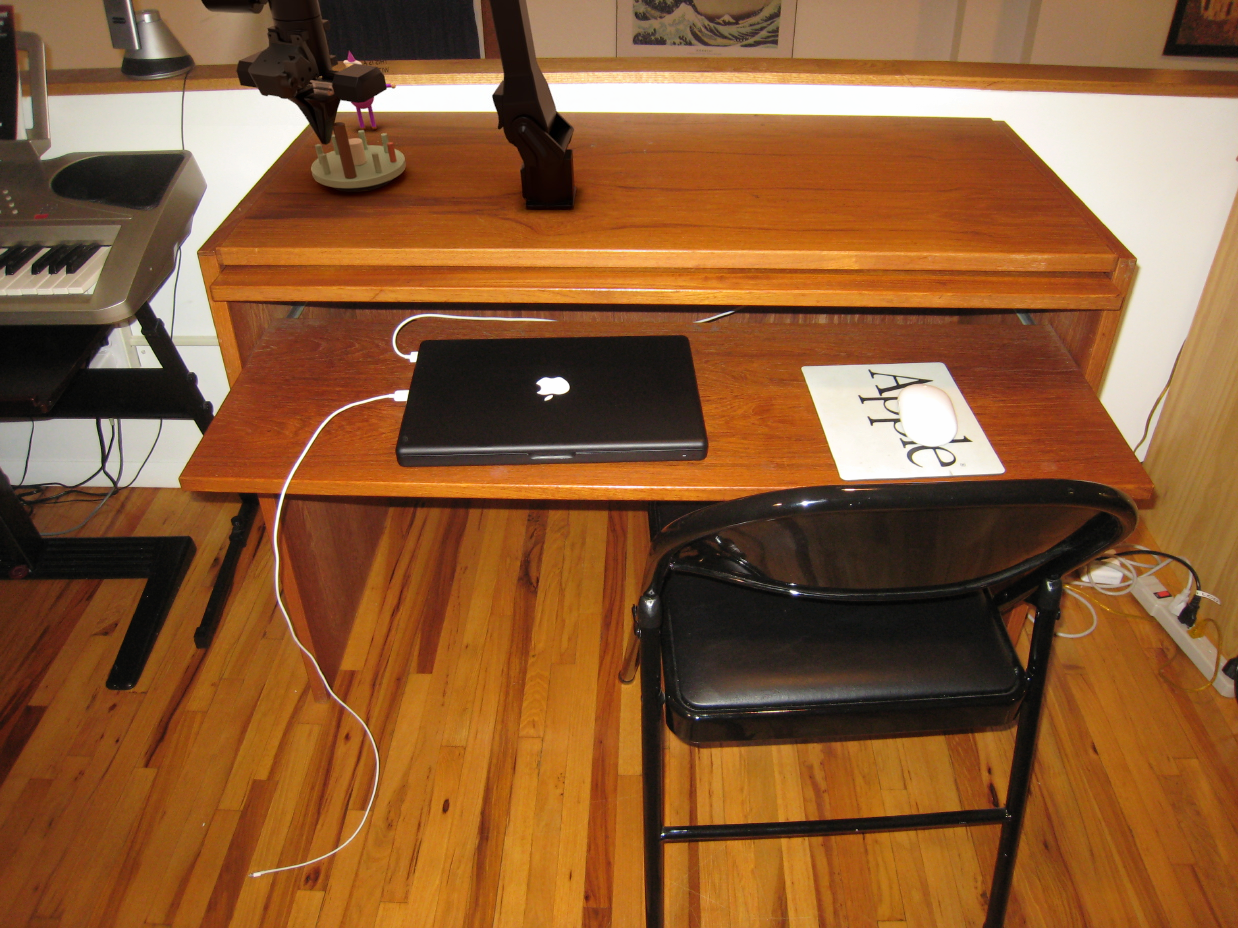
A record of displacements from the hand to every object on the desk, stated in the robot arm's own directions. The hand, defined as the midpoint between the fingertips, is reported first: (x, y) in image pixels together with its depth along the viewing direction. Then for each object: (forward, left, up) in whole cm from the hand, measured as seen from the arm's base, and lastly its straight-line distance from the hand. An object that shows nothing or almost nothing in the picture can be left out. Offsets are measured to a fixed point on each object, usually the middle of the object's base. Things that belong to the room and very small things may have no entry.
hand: (326, 143), depth 110 cm
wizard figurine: (+2, -23, -7) cm, 24 cm away
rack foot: (-2, -4, -7) cm, 8 cm away
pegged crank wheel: (-2, -4, -5) cm, 7 cm away
